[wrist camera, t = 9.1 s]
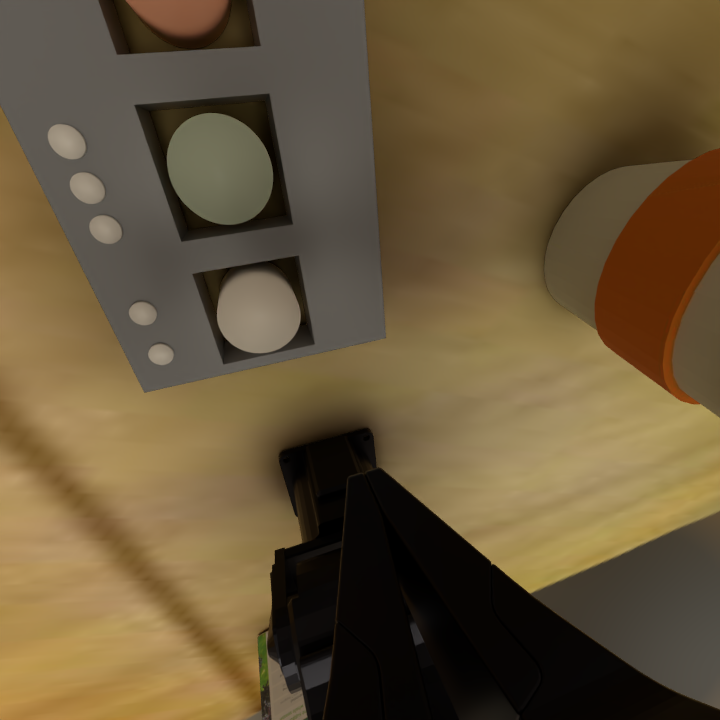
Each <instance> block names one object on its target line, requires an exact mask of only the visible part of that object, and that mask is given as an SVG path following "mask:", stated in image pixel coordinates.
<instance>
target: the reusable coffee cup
mask: <svg viewBox="0 0 720 720" xmlns="http://www.w3.org/2000/svg"><path fill="white" fill-rule="evenodd" d="M544 274H545V282H546V285H547V288H548V291H549V293H550V294H551V296H552V297H553V299H554V300H556V301H557V302H558V303H559V304H561V305H562V306H563V307H565V308H566V309H568V310H569V311H570V312H572V313H573V314H575V315H576V316H577V317H579V318H580V319H582V320H583V321H584V322H586V323H587V324H589V325H590V326H592V327H593V328H594V329H596V330H597V331H598V334H599V336H600V338H601V339H602V341H603V342H604V344H605V345H606V346H607V347H608V348H610V349H611V350H612V351H614V352H615V353H616V354H618V355H619V356H620V357H622V358H623V359H624V360H626V361H627V362H628V363H630V364H631V365H633V366H634V367H635V368H637V369H638V370H639V371H641V372H642V373H643V374H645V375H646V376H647V377H649V378H650V379H652V380H653V381H654V382H656V383H657V384H658V385H660V386H661V387H662V388H664V389H665V390H667V391H668V392H669V393H671V394H672V395H673V396H675V397H676V398H677V399H679V400H680V401H683V402H687V403H690V404H702V405H703V406H704V407H706V408H707V409H709V410H710V411H711V412H713V413H714V414H716V415H717V416H718V417H720V148H719V149H715V150H712V151H709V152H707V153H705V154H703V155H701V156H699V157H697V158H695V159H692V160H682V161H673V162H663V163H653V164H644V165H634V166H625V167H621V168H617V169H613V170H610V171H608V172H607V173H605V174H603V175H601V176H599V177H597V178H596V179H595V180H593V181H592V182H591V183H589V184H588V185H587V186H585V187H584V188H583V189H582V190H581V191H580V192H579V193H578V194H577V195H576V196H575V197H574V198H573V200H572V201H571V202H570V204H569V205H568V206H567V208H566V209H565V210H564V212H563V213H562V215H561V217H560V218H559V220H558V222H557V224H556V225H555V227H554V230H553V232H552V235H551V237H550V240H549V242H548V246H547V251H546V255H545V263H544Z"/></svg>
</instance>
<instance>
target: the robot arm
mask: <svg viewBox="0 0 720 720" xmlns="http://www.w3.org/2000/svg"><path fill="white" fill-rule="evenodd" d="M365 435H367V436H366V437H364V436H365ZM286 457H289V458H287V459H284V458H286ZM279 462H280V466H281V469H282V472H283V476H284V479H285V482H286V486H287V489H288V493H289V496H290V499H291V503H292V506H293V509H294V513H295V515H296V516H297V517H298V519H299V525H300V531H301V537H302V544H299V545H295V546H292V547H289V548H286V549H285V547H284V548H281V549H278V550H275V564H274V565H272V572H271V573H270V578H271V591H272V609H271V617H270V624H269V631H268V638H267V650H268V655H269V657H270V658H271V659H273V660H274V661H275V662H277V663H278V664H279V665H280V668H281V672H282V674H283V676H284V678H285V681H286V685H287V687H288V690H289V692H290V693H291V694H293V693H296V692H298V691H300V690H302V692H303V697H304V703H305V708H306V713H307V718H308V720H720V709H717V708H715V707H712V706H710V705H707V704H705V703H702V702H700V701H697V700H695V699H692V698H689V697H687V696H685V695H682V694H680V693H678V692H676V691H674V690H672V689H669V688H668V687H666V686H664V685H662V684H660V683H658V682H656V681H655V680H653V679H651V678H650V677H648V676H646V675H644V674H643V673H641V672H640V671H638V670H637V669H635V668H634V667H632V666H631V665H629V664H628V663H626V662H625V661H624V660H622V659H621V658H619V657H618V656H616V655H615V654H614V653H612V652H610V651H609V650H608V649H607V648H605V647H604V646H602V645H601V644H599V643H598V642H597V641H595V640H594V639H592V638H591V637H589V636H588V635H586V634H585V633H584V632H582V631H581V630H579V629H578V628H577V627H575V626H574V625H572V624H571V623H569V622H568V621H567V620H565V619H564V618H562V617H561V616H559V615H558V614H557V613H555V612H554V611H552V610H551V609H550V608H548V607H547V606H546V605H544V604H543V603H542V602H540V601H539V600H538V599H536V598H535V597H533V596H532V595H531V594H530V593H528V592H527V591H526V590H525V589H523V588H522V587H521V586H520V585H518V584H517V583H516V582H515V581H514V580H512V579H511V578H510V577H509V576H507V575H506V574H505V573H504V572H503V571H502V570H500V569H499V568H498V567H497V566H496V565H494V564H492V566H491V561H490V560H488V559H487V558H486V557H485V556H484V555H483V554H481V553H480V552H479V551H478V550H477V549H476V548H474V547H473V546H472V545H471V544H470V543H468V542H467V541H466V540H465V539H464V538H463V537H461V536H460V535H459V534H458V533H457V532H456V531H454V530H453V529H452V528H451V527H450V526H448V525H447V524H446V523H445V522H444V521H443V520H441V519H440V518H439V517H438V516H437V515H436V514H434V513H433V512H432V511H431V510H430V509H429V508H427V507H426V506H425V505H424V504H423V503H421V502H420V501H419V500H418V499H417V498H416V497H414V496H413V495H412V494H411V493H410V492H409V491H407V490H406V489H405V488H404V487H403V486H401V485H400V484H399V483H398V482H397V481H396V480H394V479H393V478H392V477H391V476H390V475H389V474H387V473H386V472H385V471H384V470H383V469H381V468H377V467H376V457H375V447H374V438H373V434H372V432H371V430H370V429H362V430H358V431H354V432H351V433H347V434H343V435H340V436H336V437H332V438H329V439H325V440H321V441H318V442H314V443H310V444H307V445H303V446H299V447H296V448H292V449H288V450H285V451H282V452H281V453H280V454H279Z"/></svg>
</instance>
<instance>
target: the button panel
mask: <svg viewBox="0 0 720 720" xmlns="http://www.w3.org/2000/svg"><path fill="white" fill-rule="evenodd" d="M246 3H247V8H248V13H249V19H250V24H251V29H252V35H253V40H254V45H255V47H239V48H222V49H206V50H189V51H173V52H156V53H139V54H130V52H129V49H128V46H127V43H126V40H125V37H124V34H123V30H122V27H121V24H120V21H119V18H118V15H117V12H116V9H115V6H114V3H113V0H0V105H1V107H2V109H3V111H4V113H5V115H6V117H7V119H8V121H9V123H10V125H11V127H12V129H13V131H14V133H15V135H16V137H17V139H18V141H19V143H20V145H21V147H22V149H23V151H24V153H25V155H26V157H27V159H28V161H29V163H30V165H31V167H32V169H33V171H34V173H35V175H36V177H37V179H38V181H39V183H40V185H41V187H42V189H43V191H44V193H45V195H46V197H47V199H48V201H49V203H50V205H51V207H52V209H53V211H54V213H55V215H56V217H57V219H58V221H59V223H60V225H61V227H62V229H63V231H64V233H65V235H66V237H67V239H68V241H69V243H70V245H71V247H72V249H73V251H74V253H75V255H76V257H77V259H78V261H79V263H80V265H81V267H82V269H83V271H84V273H85V275H86V277H87V279H88V281H89V283H90V285H91V287H92V289H93V291H94V293H95V295H96V297H97V299H98V301H99V303H100V305H101V307H102V309H103V311H104V313H105V315H106V317H107V319H108V321H109V323H110V325H111V327H112V329H113V331H114V333H115V335H116V337H117V339H118V341H119V343H120V345H121V347H122V349H123V351H124V353H125V355H126V357H127V359H128V361H129V363H130V365H131V367H132V369H133V371H134V373H135V375H136V377H137V379H138V381H139V383H140V385H141V387H142V389H143V391H144V393H145V392H150V391H154V390H158V389H163V388H167V387H172V386H176V385H181V384H185V383H189V382H194V381H198V380H203V379H207V378H212V377H216V376H220V375H225V374H229V373H234V372H238V371H243V370H247V369H251V368H256V367H260V366H265V365H269V364H274V363H278V362H282V361H287V360H291V359H296V358H300V357H305V356H309V355H313V354H318V353H322V352H327V351H331V350H336V349H340V348H344V347H349V346H353V345H358V344H362V343H367V342H371V341H375V340H380V339H384V338H386V332H385V317H384V302H383V286H382V271H381V256H380V240H379V225H378V209H377V194H376V179H375V163H374V148H373V133H372V117H371V102H370V87H369V71H368V56H367V40H366V25H365V10H364V0H246ZM257 101H265V104H266V109H267V114H268V119H269V125H270V130H271V135H272V141H273V146H274V151H275V157H276V162H277V167H278V172H279V178H280V183H281V188H282V194H283V199H284V204H285V210H286V216H279V217H273V218H266V219H259V220H253V221H246V222H243V223H239V224H233V225H219V226H213V227H206V228H199V229H193V230H188V228H187V225H186V222H185V219H184V216H183V213H182V210H181V207H180V204H179V201H178V198H177V195H176V192H175V189H174V187H173V185H172V183H171V180H170V177H169V173H168V167H167V164H166V161H165V158H164V155H163V152H162V149H161V146H160V143H159V140H158V137H157V134H156V131H155V128H154V125H153V122H152V119H151V116H150V113H149V111H155V110H166V109H177V108H189V107H200V106H211V105H223V104H234V103H245V102H257ZM292 256H294V257H295V263H296V268H297V273H298V278H299V284H300V289H301V294H302V300H303V305H304V310H305V316H306V321H307V325H302V326H299V328H298V330H297V332H296V334H295V336H294V337H293V338H292V339H291V341H289V342H288V343H287V344H286V345H285V346H283V347H281V348H280V349H277V350H275V351H272V352H268V353H251V352H247V351H243V350H241V349H239V348H237V347H235V346H234V345H232V344H231V343H230V342H229V341H226V342H225V341H224V338H223V335H222V332H221V331H220V328H219V326H218V322H217V317H216V314H215V311H214V307H213V304H212V301H211V298H210V295H209V292H208V289H207V286H206V283H205V280H204V277H203V274H202V272H205V271H211V270H217V269H222V268H228V267H234V266H240V265H246V264H252V263H257V262H263V261H269V260H275V259H281V258H286V257H292Z"/></svg>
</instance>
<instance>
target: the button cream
mask: <svg viewBox="0 0 720 720" xmlns="http://www.w3.org/2000/svg"><path fill="white" fill-rule="evenodd" d="M300 319H301V314H300V308H299V304H298V302H297V299H296V297H295V294H294V292H293V289H292V286H291V284H290V282H289V280H288V278H287V276H286V275H285V274H284V272H283V271H282V270H281V269H279V268H278V267H277V266H275V265H273V264H271V263H269V262H266V261H263V262H257V263H252V264H246V265H240V266H234V267H232V268H231V269H230V270H229V271H228V272H227V273H226V274H225V276H224V277H223V279H222V282H221V285H220V291H219V299H218V308H217V322H218V326H219V328H220V331H221V332H222V334H223V336H224V337H225V338H226V339H227V340H228V341H229V342H230V343H231V344H232V345H234V346H235V347H237V348H239V349H241V350H243V351H247V352H251V353H268V352H272V351H275V350H277V349H280V348H281V347H283V346H285V345H286V344H287V343H288V342H289V341H291V339H292V338H293V337H294V336H295V334H296V332H297V330H298V328H299V325H300Z"/></svg>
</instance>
